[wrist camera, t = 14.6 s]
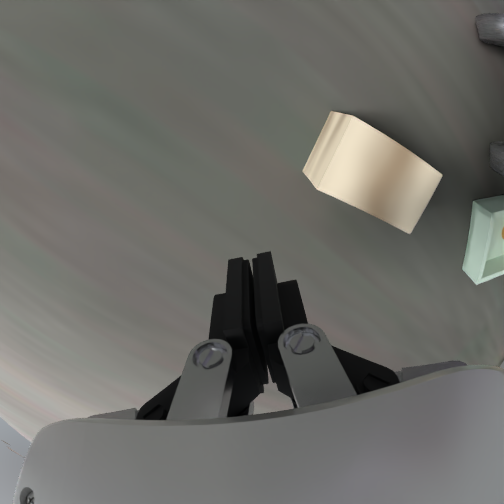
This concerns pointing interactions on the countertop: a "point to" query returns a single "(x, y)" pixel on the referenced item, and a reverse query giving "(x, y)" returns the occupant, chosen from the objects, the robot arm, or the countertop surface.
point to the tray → (485, 240)
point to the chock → (371, 171)
